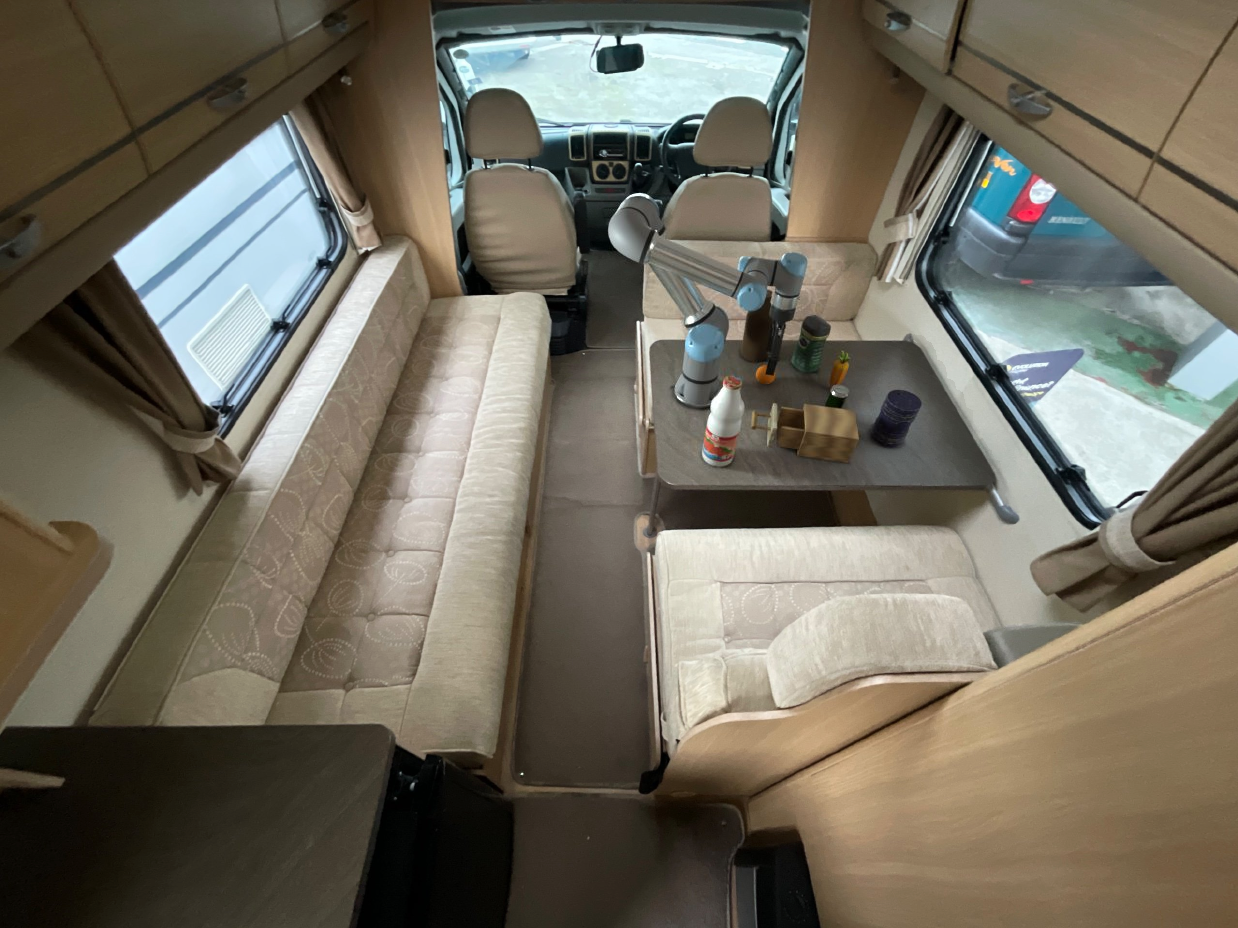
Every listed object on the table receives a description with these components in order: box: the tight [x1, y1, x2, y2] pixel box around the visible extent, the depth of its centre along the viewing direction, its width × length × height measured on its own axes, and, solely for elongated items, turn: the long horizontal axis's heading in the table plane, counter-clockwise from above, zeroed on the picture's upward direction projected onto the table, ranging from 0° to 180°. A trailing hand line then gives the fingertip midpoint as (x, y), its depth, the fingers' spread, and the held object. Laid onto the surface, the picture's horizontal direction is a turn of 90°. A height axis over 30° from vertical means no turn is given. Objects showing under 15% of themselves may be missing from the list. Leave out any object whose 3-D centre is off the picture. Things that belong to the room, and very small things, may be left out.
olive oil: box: [740, 289, 773, 363], centre depth 194 cm, size 11×11×25 cm
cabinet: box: [796, 403, 860, 464], centre depth 167 cm, size 15×13×10 cm
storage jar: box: [869, 389, 923, 449], centre depth 168 cm, size 10×10×15 cm
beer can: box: [824, 384, 849, 409], centre depth 175 cm, size 5×5×12 cm
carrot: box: [829, 350, 851, 389], centre depth 184 cm, size 5×5×15 cm
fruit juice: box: [701, 375, 745, 468], centre depth 156 cm, size 9×9×28 cm
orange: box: [755, 364, 777, 385], centre depth 190 cm, size 6×6×6 cm
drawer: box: [750, 402, 805, 450], centre depth 169 cm, size 19×12×8 cm, turn 79°
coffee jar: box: [791, 314, 832, 374], centre depth 192 cm, size 10×8×19 cm
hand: (769, 362), depth 186 cm, fingers open, 13 cm apart
